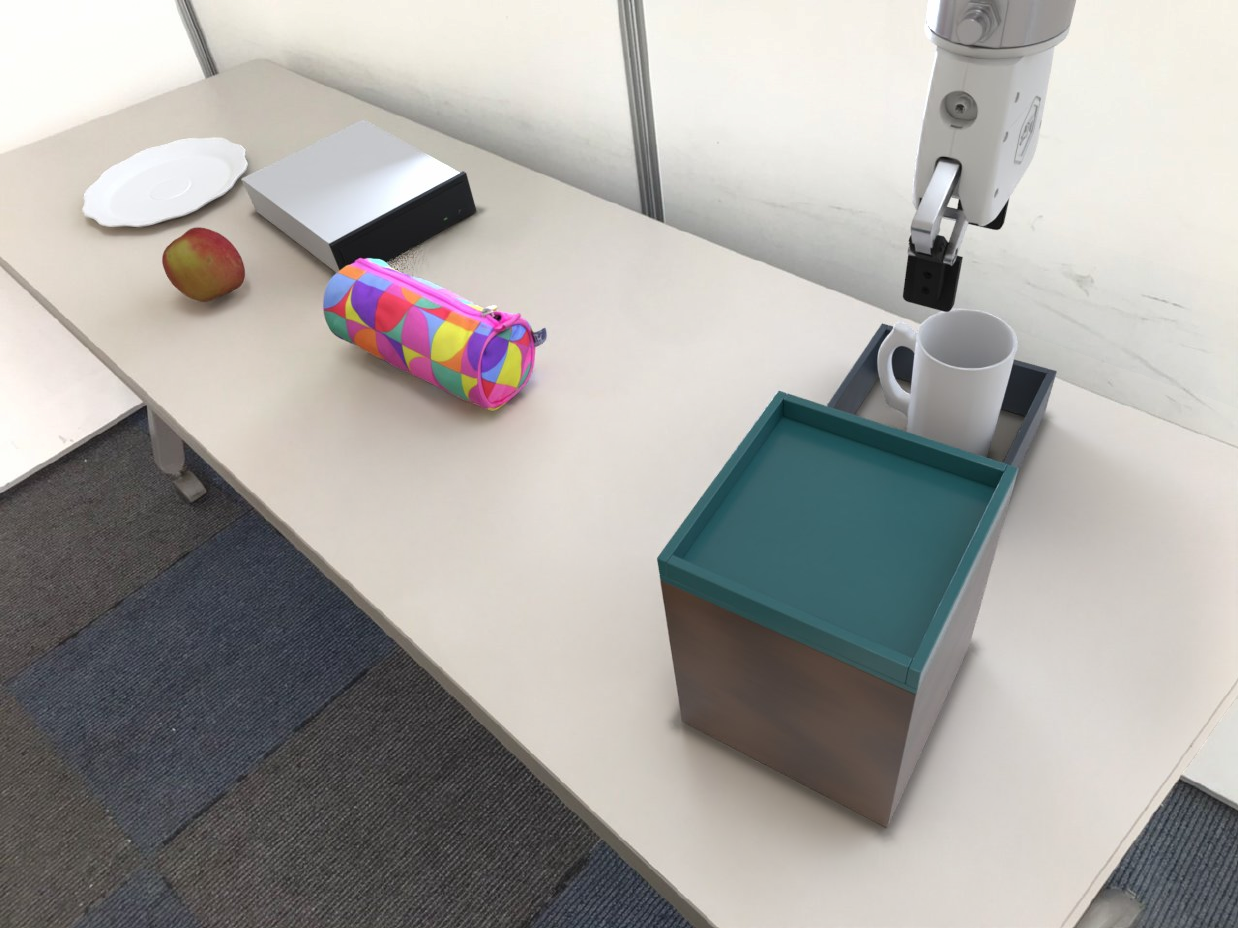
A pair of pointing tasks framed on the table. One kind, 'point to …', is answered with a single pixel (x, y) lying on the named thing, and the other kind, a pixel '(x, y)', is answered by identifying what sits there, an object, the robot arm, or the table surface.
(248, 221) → the table surface
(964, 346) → the mug
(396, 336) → the pencil case
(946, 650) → the riser
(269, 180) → the disc drive
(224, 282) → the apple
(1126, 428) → the table surface
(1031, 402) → the dark gray square frame
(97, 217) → the plate
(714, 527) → the tray
